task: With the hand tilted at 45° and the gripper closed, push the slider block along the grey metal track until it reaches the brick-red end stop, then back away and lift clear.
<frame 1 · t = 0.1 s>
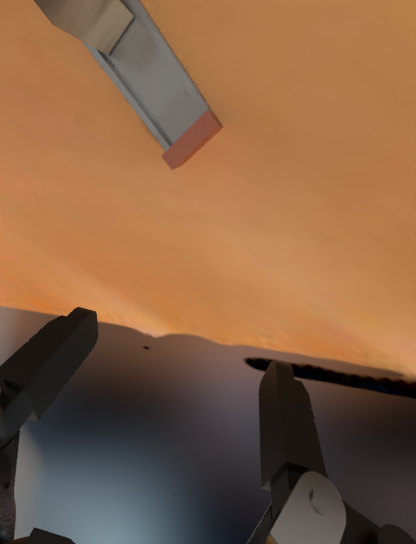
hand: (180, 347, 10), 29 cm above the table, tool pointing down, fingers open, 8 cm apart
track: (146, 69, 29), on the table
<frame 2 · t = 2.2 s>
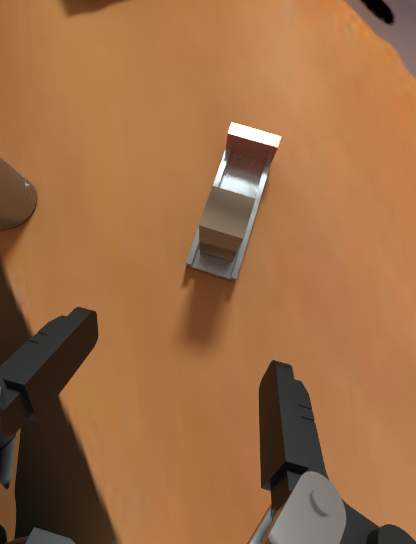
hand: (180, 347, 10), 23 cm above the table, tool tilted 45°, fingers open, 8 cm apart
slider block: (223, 228, 30), point 6 cm above the table, slide at 0.0 cm
track: (231, 210, 37), on the table
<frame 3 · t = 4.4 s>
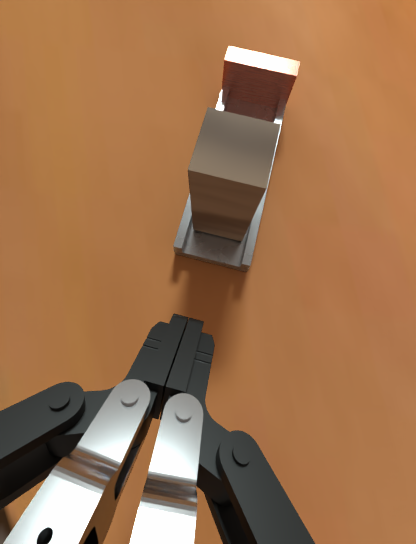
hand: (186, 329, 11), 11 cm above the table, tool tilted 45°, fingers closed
slider block: (228, 187, 19), point 6 cm above the table, slide at 0.0 cm
track: (234, 173, 27), on the table
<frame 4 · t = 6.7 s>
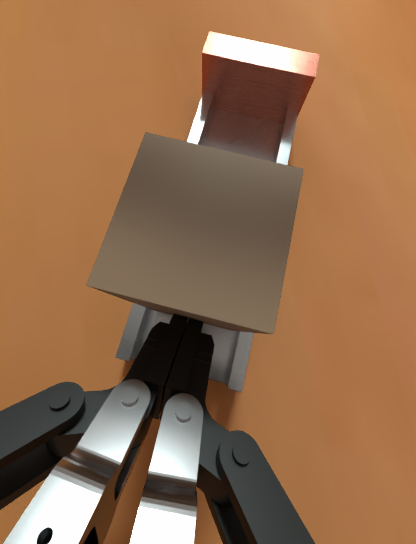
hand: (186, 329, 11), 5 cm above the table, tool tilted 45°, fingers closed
slider block: (202, 265, 11), point 6 cm above the table, slide at 0.6 cm, touching gripper
track: (220, 220, 18), on the table
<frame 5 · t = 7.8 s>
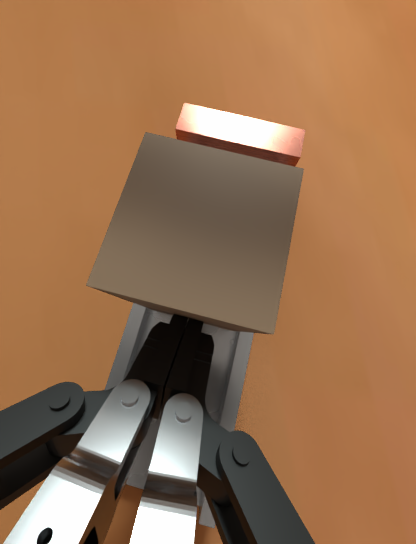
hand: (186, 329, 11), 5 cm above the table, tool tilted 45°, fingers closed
slider block: (202, 265, 11), point 6 cm above the table, slide at 7.0 cm, touching gripper
track: (199, 299, 17), on the table
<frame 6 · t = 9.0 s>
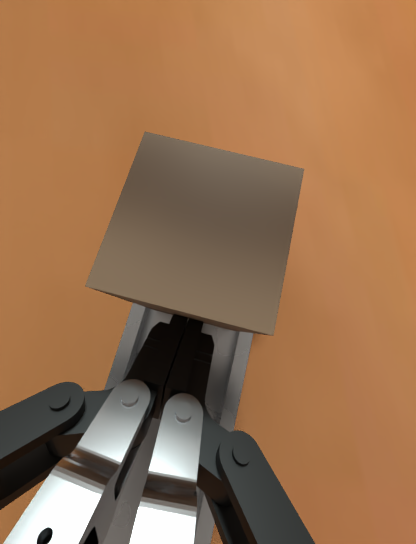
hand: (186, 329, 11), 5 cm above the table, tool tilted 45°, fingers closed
slider block: (202, 264, 11), point 6 cm above the table, slide at 12.1 cm, touching gripper
track: (179, 374, 15), on the table
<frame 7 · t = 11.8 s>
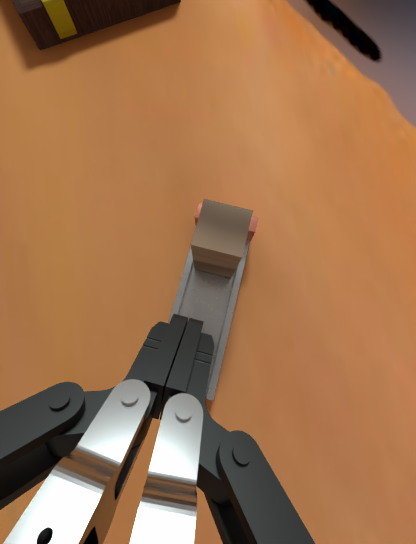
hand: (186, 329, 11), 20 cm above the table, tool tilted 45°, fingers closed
slider block: (219, 243, 27), point 6 cm above the table, slide at 12.0 cm
track: (206, 300, 31), on the table
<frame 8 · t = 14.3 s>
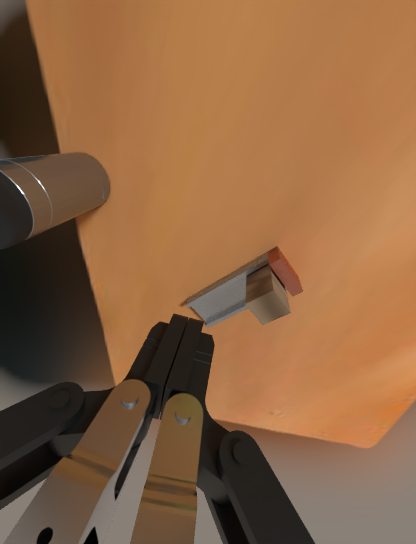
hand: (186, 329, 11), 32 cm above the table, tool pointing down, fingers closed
slider block: (266, 292, 40), point 6 cm above the table, slide at 12.0 cm
track: (239, 288, 48), on the table
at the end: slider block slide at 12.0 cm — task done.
